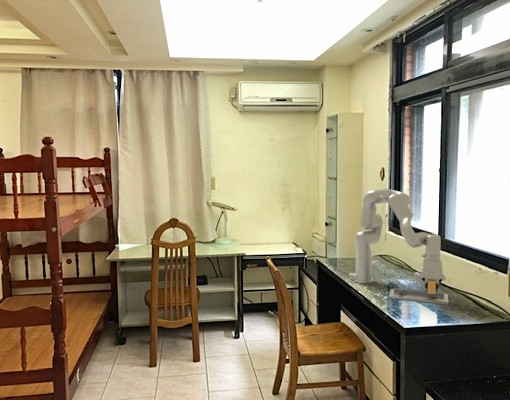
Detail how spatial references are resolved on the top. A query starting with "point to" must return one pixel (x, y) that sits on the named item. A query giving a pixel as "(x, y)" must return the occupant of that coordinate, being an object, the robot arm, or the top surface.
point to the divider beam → (416, 292)
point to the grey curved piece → (419, 279)
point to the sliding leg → (431, 286)
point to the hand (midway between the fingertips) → (431, 289)
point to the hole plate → (419, 298)
